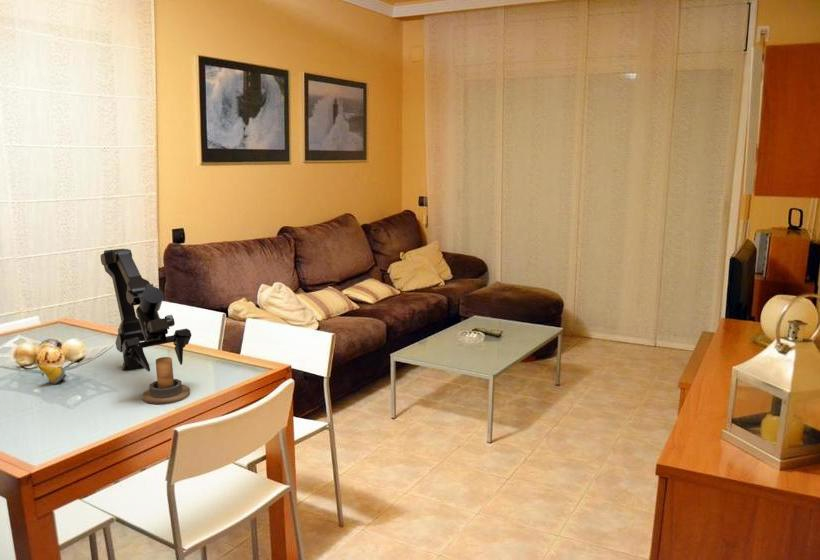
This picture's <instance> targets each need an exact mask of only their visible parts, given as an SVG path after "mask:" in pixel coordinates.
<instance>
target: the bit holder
mask: <svg viewBox="0 0 820 560" xmlns="http://www.w3.org/2000/svg"><path fill="white" fill-rule="evenodd" d="M173 379H174V387H171V388H165V389H158V382H157V380H156V381H153V382H152V383H150V384H148V385H149V386H148V388H149V389H147V390H145V391H144V392H143V393H142V395H141V396H142V397H141V398H142V401H143V402H144V403H146V404H150V405H167V404H168V405H169V404H170V405H171V404H175V403H178V402H180V401H183V400H185V399H187V398H189V396H190V395H191V389H190V387H189V386H188V385H184V384H183V382H182V380H181V379H178V378H173Z"/></svg>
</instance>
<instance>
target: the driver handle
mask: <svg viewBox="0 0 820 560" xmlns="http://www.w3.org/2000/svg"><path fill="white" fill-rule="evenodd" d="M155 368H156V370H155V371H156V378H157V380H156V381H157V382H158V389H165V388H171V387H174V379H175V378H174V370H173V369H174V367H173V358H172V357H170V356H163V357H159V358H156V359H155Z"/></svg>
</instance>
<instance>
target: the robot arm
mask: <svg viewBox="0 0 820 560" xmlns="http://www.w3.org/2000/svg"><path fill="white" fill-rule="evenodd" d="M100 263H101V266H103V268H104V271H105V273H106V274H108V275H109V276H110V278H111V279H112V283H113V288H114V293H115V294H114V295H115V297H116V302H117V307H118V310H119V311H118V312H119V316H120V324H119V326H118V328H117V335H116V336H117V337H116V338H115V339H116V340H115V348H116V350H117V351H118V352H120V353H122V355H123V357H122V358H123V363H122V371H127V370H134V369H135V370H137V369H145V370H146V371H147V372H151V368H150V364H149V362H148V359H147V357H146V354H145V352H144V348H149V347H155V346H160V345H165V344H169V343H170V344H171V343H173V346H174V351H175V354H176V357H177V361H178V363H179V365H183V361H184V359H183V358H184V357H183V355H184V354H183V353H184V348H186V346H188V344H189V343H190V340H191V338H192V332H191V330H190V329H188V328H181V329H177V330H175V331H174V333H173V334H172V335H168V333H169V329H170V327H174V326H175V323H176V322H175V318H174V315H173V314H168V315H167V314H166V316H164V318H162V317H160V315H159V311H160V309H161V306H162V303H163V300H164V297H165V295H164V292H163V291H162V290H161V289H160V288H158V287H156V286H154V284H153V283H150V281H149V280H147V279H146V278H143V276H142V275H141V273H140V271H139V269H138V266H137V265H136V263H135V260H134V259H133V254H132V250H131V249H129V248H116V249H106V250H104V251H103V253H101V254H100ZM134 306H137V307H136V309H135V307H134Z"/></svg>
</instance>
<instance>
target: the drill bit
mask: <svg viewBox="0 0 820 560" xmlns="http://www.w3.org/2000/svg"><path fill="white" fill-rule="evenodd" d="M37 365H38V367H39V369H40V370H41V371H42V372H43V373H44V375H45V376H46V377H47V378H48V379H47V380H48V382H49V383H51V384H53V385H56V384H57V383H59V382H60V381H65V380H66V378H67V375H68V374H66V371H65V368H64V367H62V366H49V365H42V364H41V365H39V364H37Z"/></svg>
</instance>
